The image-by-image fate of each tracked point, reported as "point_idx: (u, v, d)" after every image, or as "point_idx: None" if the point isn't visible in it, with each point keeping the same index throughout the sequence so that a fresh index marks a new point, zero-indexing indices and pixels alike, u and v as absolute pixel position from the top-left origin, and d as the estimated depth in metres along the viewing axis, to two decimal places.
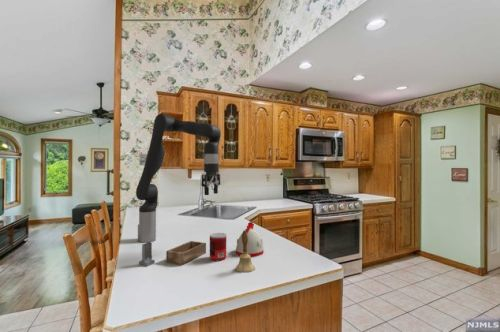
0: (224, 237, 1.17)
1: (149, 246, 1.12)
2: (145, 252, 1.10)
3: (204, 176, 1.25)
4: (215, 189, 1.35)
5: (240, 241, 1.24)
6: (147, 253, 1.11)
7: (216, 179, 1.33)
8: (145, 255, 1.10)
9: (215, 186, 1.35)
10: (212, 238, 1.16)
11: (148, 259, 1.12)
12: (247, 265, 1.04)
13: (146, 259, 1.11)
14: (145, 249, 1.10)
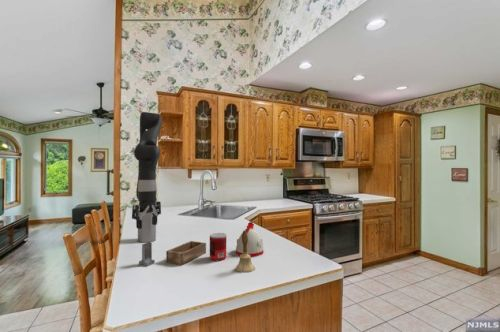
0: (224, 237, 1.17)
1: (149, 246, 1.12)
2: (145, 252, 1.10)
3: (135, 207, 1.06)
4: (154, 220, 1.16)
5: (240, 241, 1.24)
6: (147, 253, 1.11)
7: (154, 208, 1.14)
8: (145, 255, 1.10)
9: (154, 216, 1.16)
10: (212, 238, 1.16)
11: (148, 259, 1.12)
12: (247, 265, 1.04)
13: (146, 259, 1.11)
14: (145, 249, 1.10)
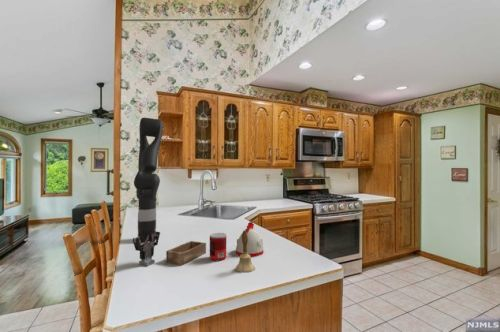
0: (224, 237, 1.17)
1: (149, 246, 1.12)
2: (145, 252, 1.10)
3: (135, 241, 1.06)
4: None
5: (240, 241, 1.24)
6: (147, 253, 1.11)
7: (152, 238, 1.13)
8: (145, 255, 1.10)
9: None
10: (212, 238, 1.16)
11: (148, 259, 1.12)
12: (247, 265, 1.04)
13: (146, 259, 1.11)
14: (145, 249, 1.10)
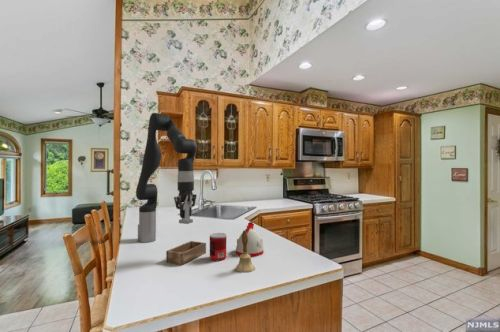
0: (224, 237, 1.17)
1: (188, 206, 1.20)
2: (185, 211, 1.18)
3: (177, 199, 1.14)
4: None
5: (240, 241, 1.24)
6: (186, 212, 1.19)
7: (191, 199, 1.21)
8: (185, 214, 1.18)
9: None
10: (212, 238, 1.16)
11: (187, 218, 1.20)
12: (247, 265, 1.04)
13: (185, 218, 1.19)
14: (185, 208, 1.18)
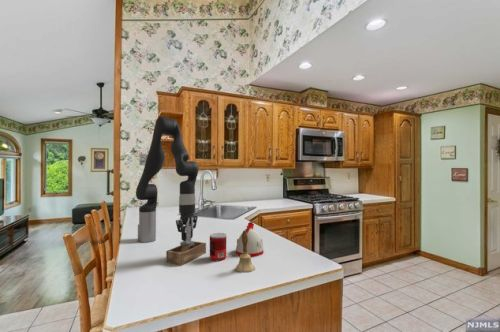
0: (224, 237, 1.17)
1: (189, 228, 1.21)
2: (186, 234, 1.19)
3: (178, 223, 1.14)
4: None
5: (240, 241, 1.24)
6: (188, 235, 1.20)
7: (192, 221, 1.21)
8: (186, 236, 1.19)
9: None
10: (212, 238, 1.16)
11: (188, 240, 1.20)
12: (247, 265, 1.04)
13: (187, 240, 1.19)
14: (186, 231, 1.19)
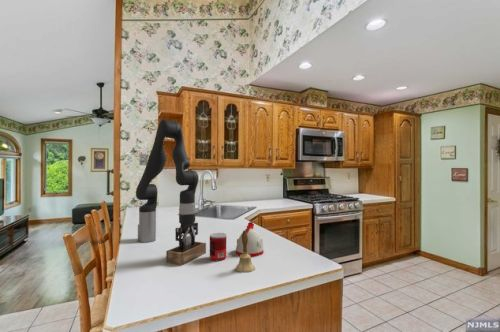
0: (224, 237, 1.17)
1: (189, 239, 1.21)
2: (186, 245, 1.18)
3: (178, 230, 1.14)
4: (192, 240, 1.23)
5: (240, 241, 1.24)
6: (188, 246, 1.19)
7: (193, 229, 1.22)
8: (186, 248, 1.19)
9: (192, 237, 1.24)
10: (212, 238, 1.16)
11: None
12: (247, 265, 1.04)
13: None
14: (186, 242, 1.19)
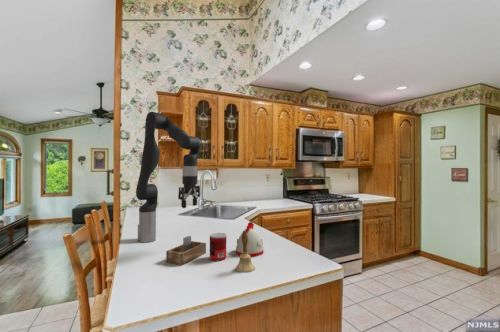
0: (224, 237, 1.17)
1: (189, 239, 1.21)
2: (186, 245, 1.18)
3: (181, 189, 1.23)
4: (194, 201, 1.33)
5: (240, 241, 1.24)
6: (188, 246, 1.19)
7: (195, 191, 1.31)
8: (186, 248, 1.19)
9: (194, 198, 1.33)
10: (212, 238, 1.16)
11: None
12: (247, 265, 1.04)
13: None
14: (186, 242, 1.19)
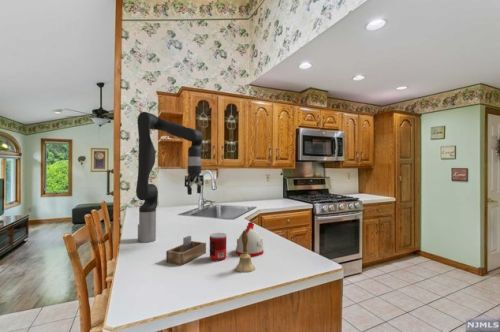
0: (224, 237, 1.17)
1: (189, 239, 1.21)
2: (186, 245, 1.18)
3: (187, 177, 1.36)
4: (198, 189, 1.46)
5: (240, 241, 1.24)
6: (188, 246, 1.19)
7: (199, 180, 1.44)
8: (186, 248, 1.19)
9: (198, 186, 1.46)
10: (212, 238, 1.16)
11: None
12: (247, 265, 1.04)
13: None
14: (186, 242, 1.19)
